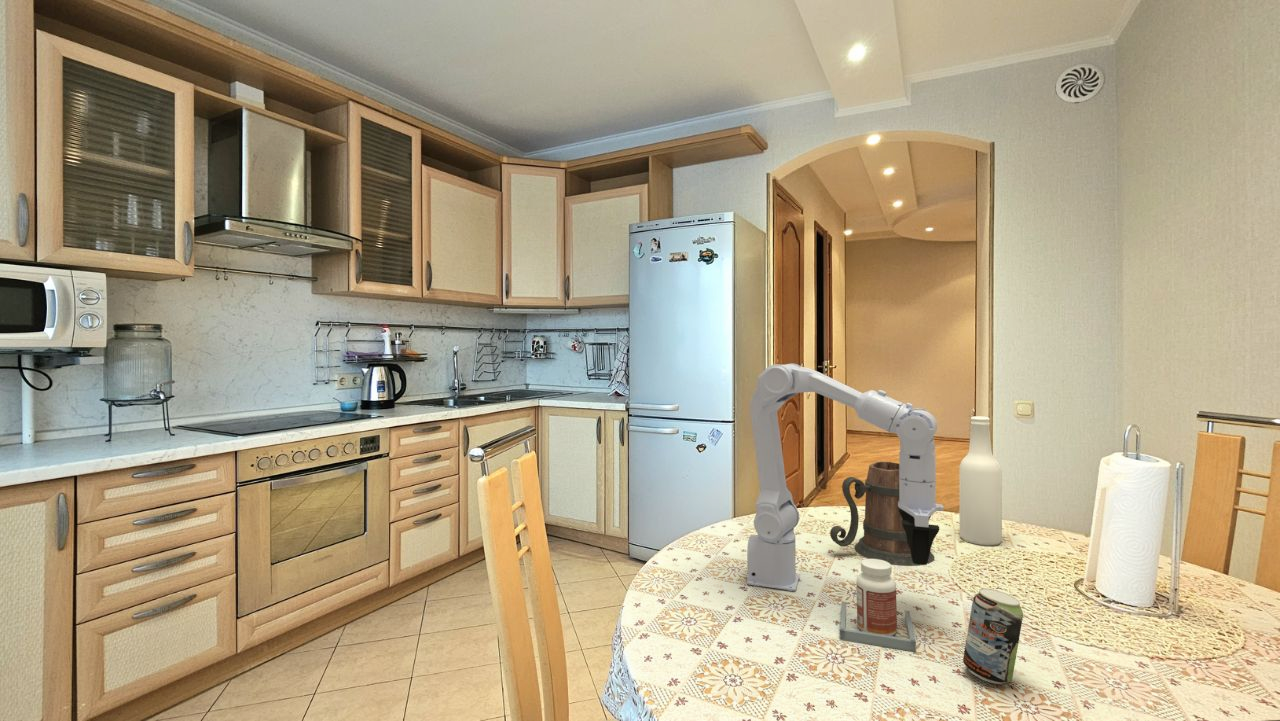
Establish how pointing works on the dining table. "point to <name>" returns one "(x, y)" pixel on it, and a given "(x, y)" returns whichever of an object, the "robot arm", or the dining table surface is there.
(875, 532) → the tankard
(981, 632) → the beverage can
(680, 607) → the dining table surface
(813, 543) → the dining table surface
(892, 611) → the pill bottle
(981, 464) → the alcohol
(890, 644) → the bracket
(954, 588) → the dining table surface
